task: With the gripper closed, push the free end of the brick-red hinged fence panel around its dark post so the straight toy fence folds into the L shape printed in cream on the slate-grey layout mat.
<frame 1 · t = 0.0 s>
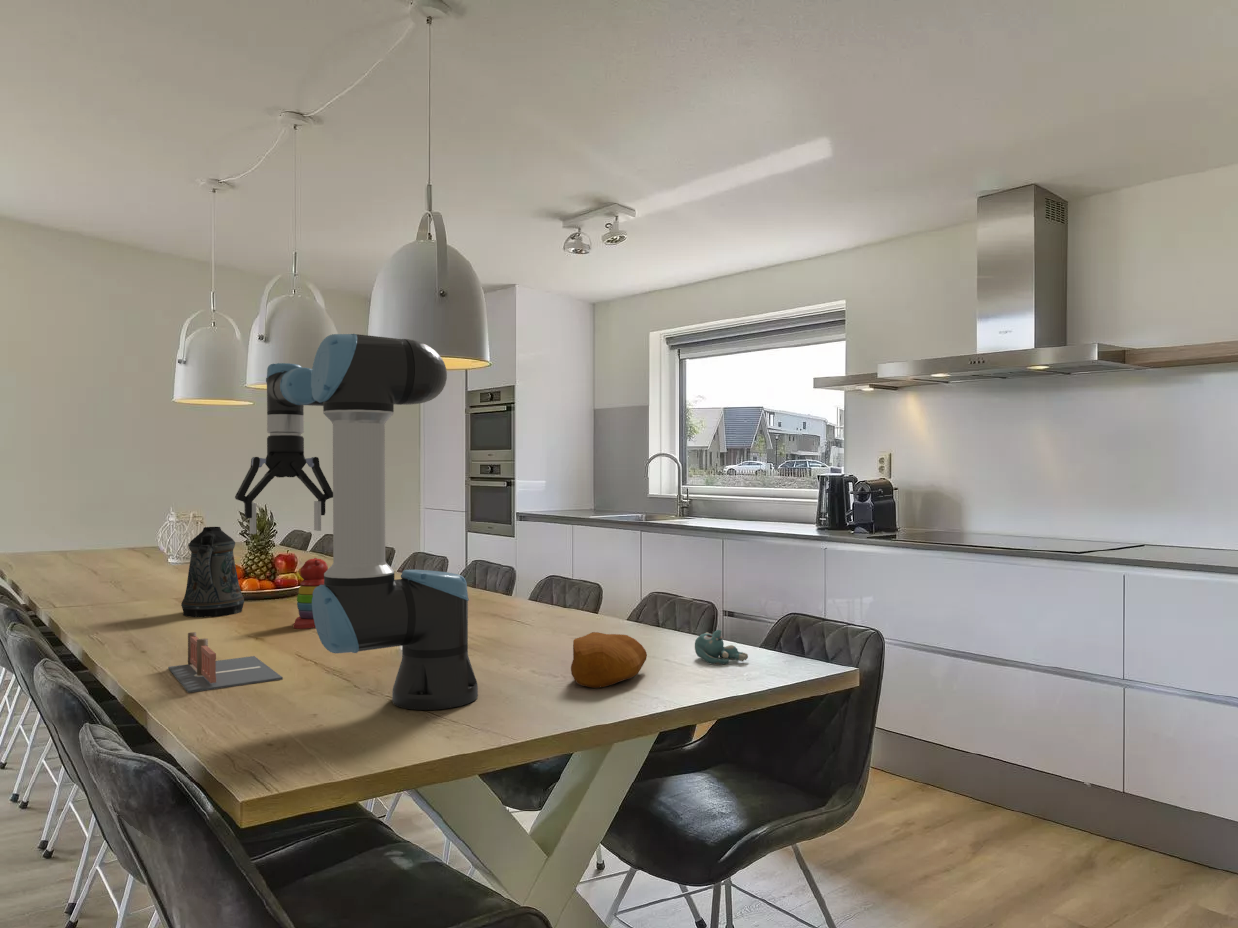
hand: (286, 532, 187), 28 cm above the table, fingers open, 13 cm apart
hinged panel: (208, 663, 168), point 4 cm above the table, hinge at 0.0°
fixed panel: (202, 676, 173), resting on layout mat
stuffed animal: (720, 662, 185), on the table
beer stein: (214, 614, 249), on the table
stacking bear: (314, 625, 230), on the table
bread: (611, 680, 169), on the table
layout mat: (223, 673, 175), on the table
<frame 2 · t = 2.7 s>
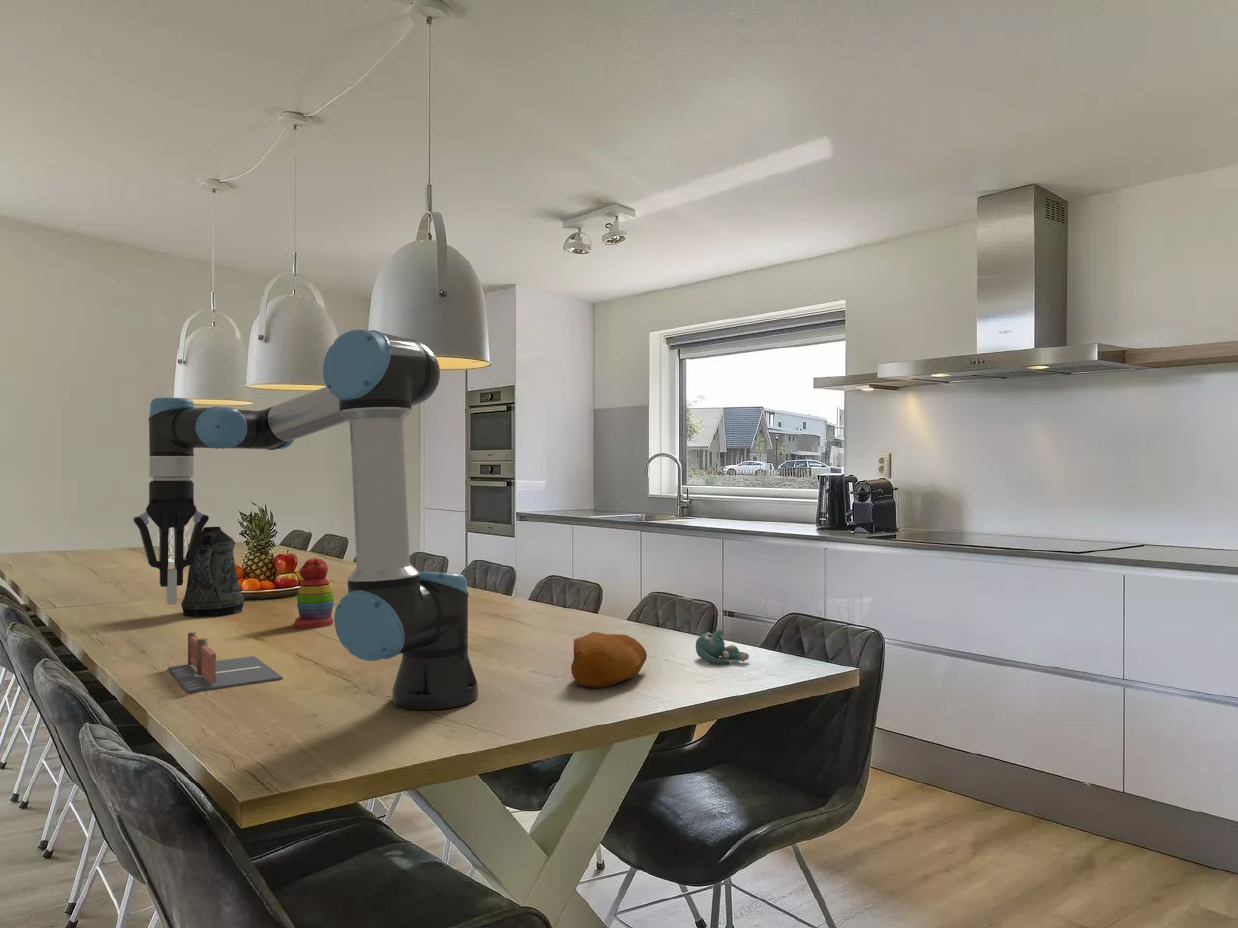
hand: (171, 603, 163), 16 cm above the table, fingers closed
nothing on the table moved.
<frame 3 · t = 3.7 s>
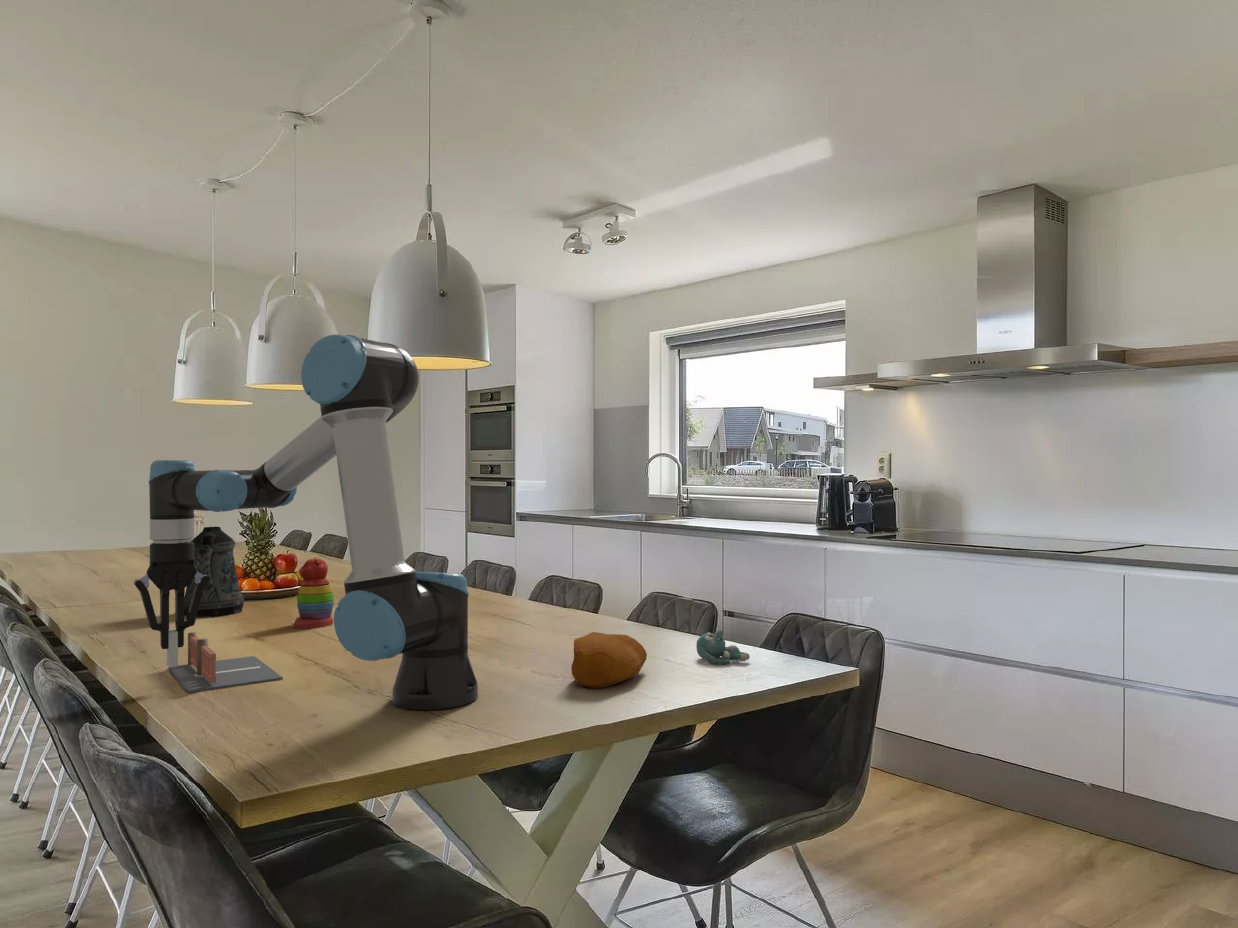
hand: (172, 665, 163), 5 cm above the table, fingers closed
nothing on the table moved.
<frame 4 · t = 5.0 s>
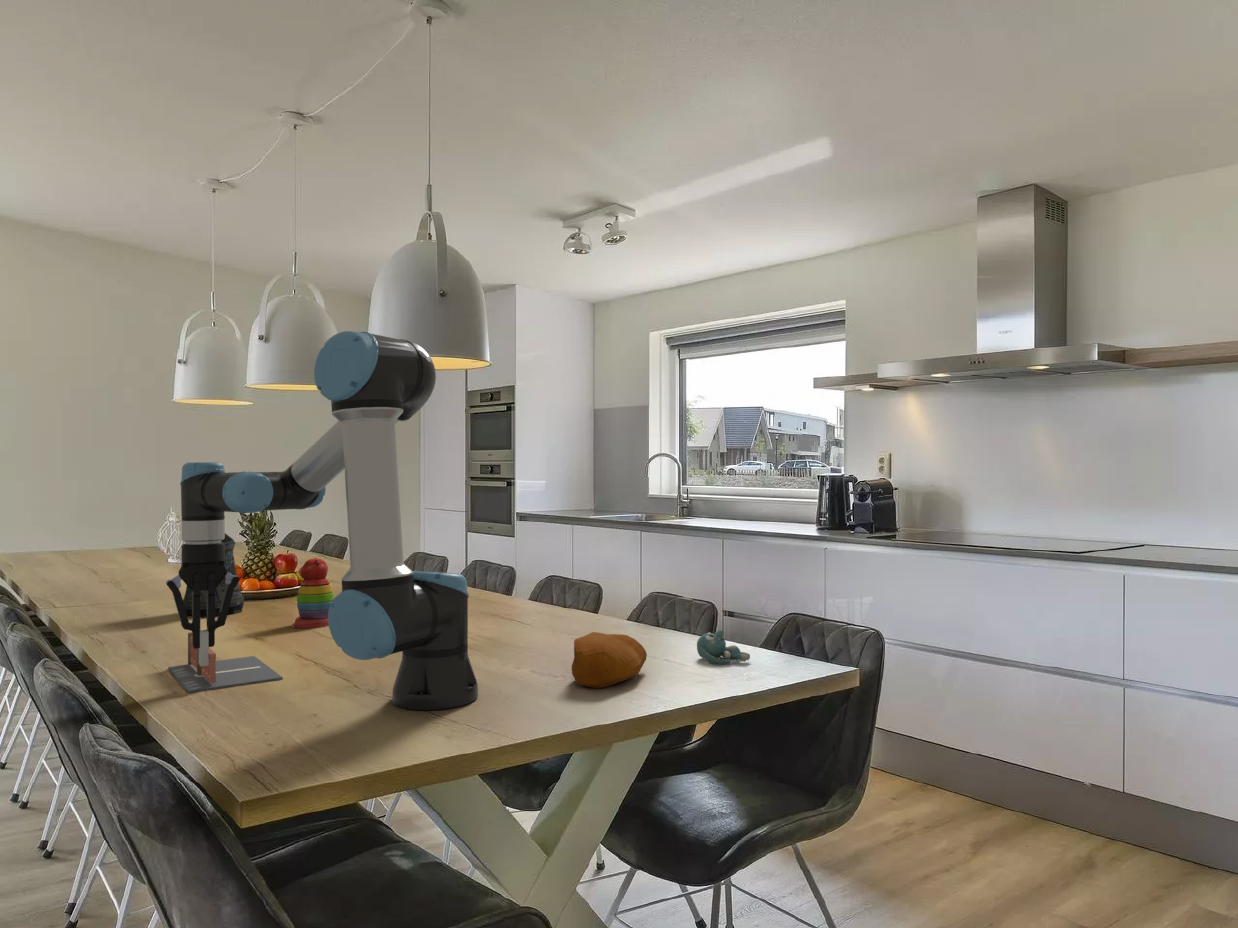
hand: (203, 664, 165), 4 cm above the table, fingers closed
hinged panel: (208, 663, 168), point 4 cm above the table, hinge at 0.0°, touching gripper
everything else where it was.
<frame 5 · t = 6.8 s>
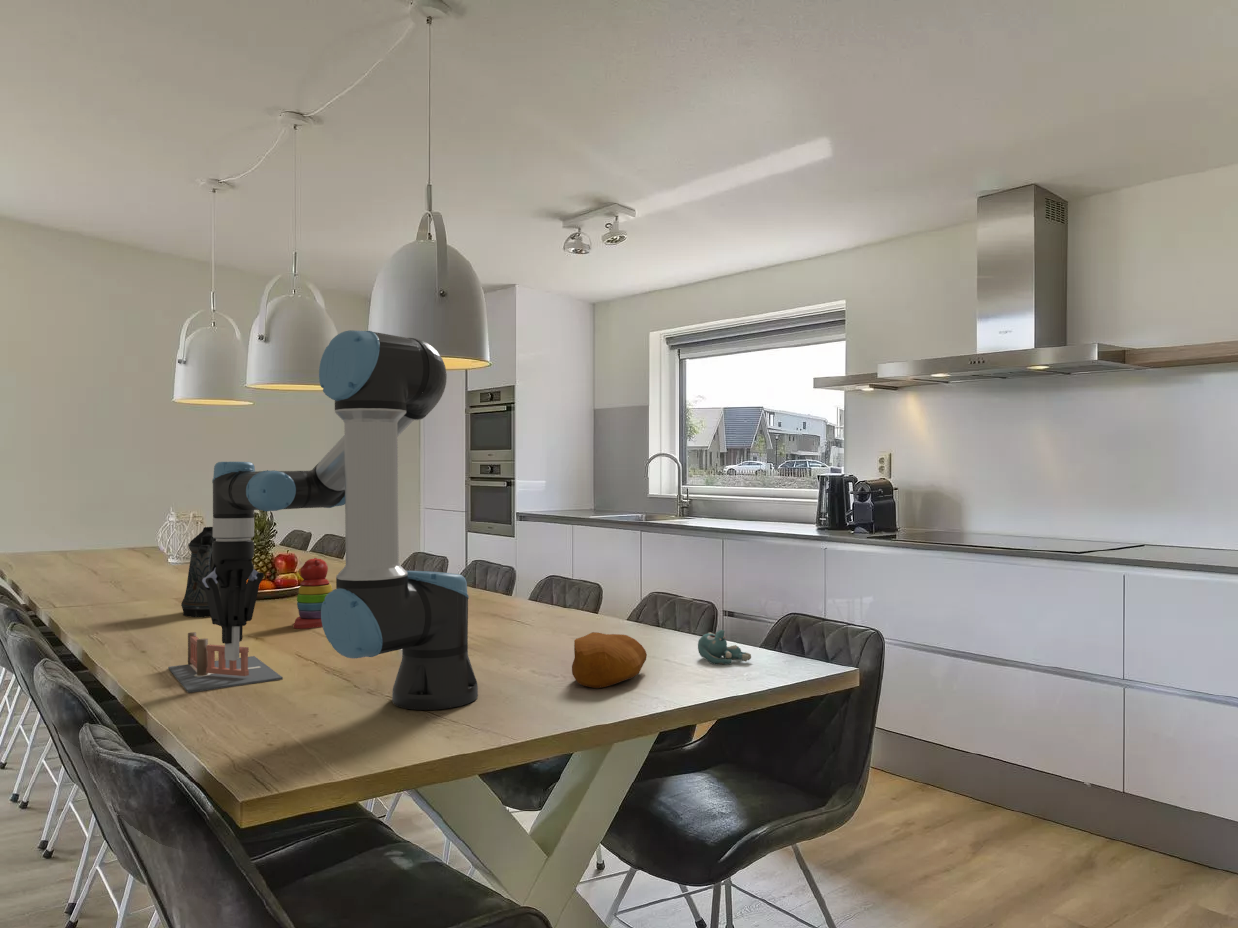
hand: (231, 659, 169), 4 cm above the table, fingers closed
hinged panel: (227, 660, 171), point 4 cm above the table, hinge at 36.2°, touching gripper
everything else where it was.
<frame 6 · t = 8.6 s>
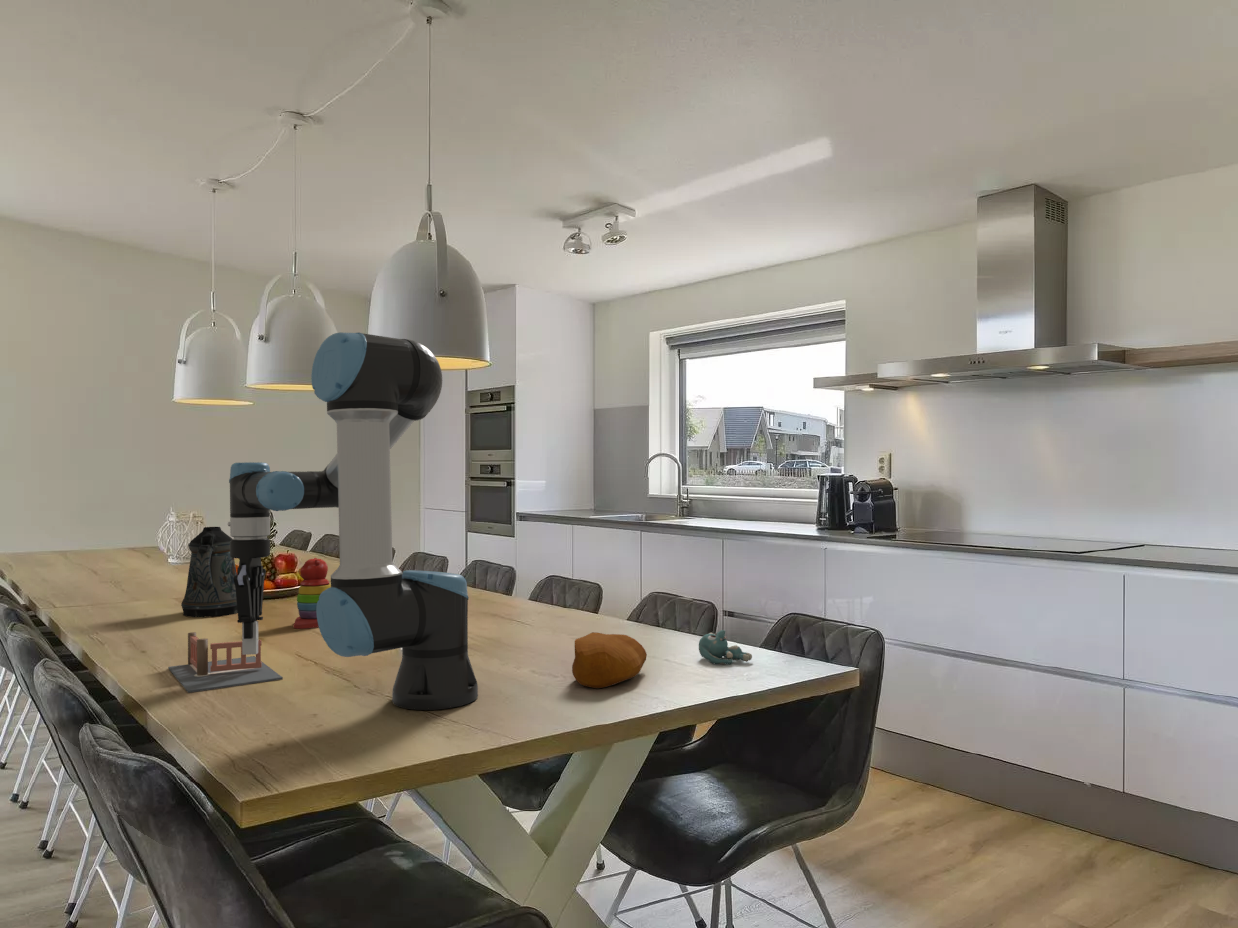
hand: (250, 653, 174), 4 cm above the table, fingers closed
hinged panel: (236, 655, 175), point 4 cm above the table, hinge at 74.9°
everything else where it was.
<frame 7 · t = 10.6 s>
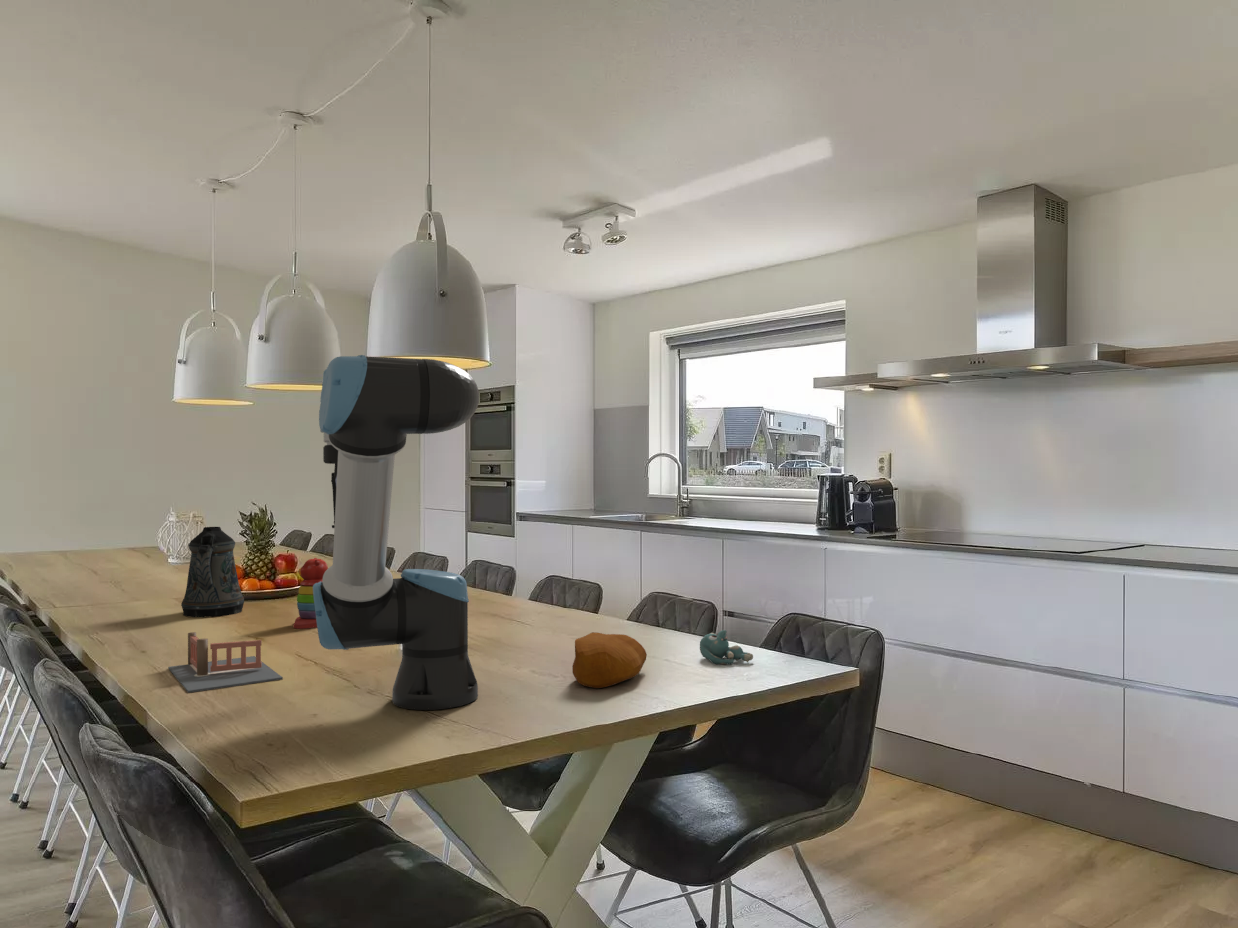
hand: (343, 559, 174), 23 cm above the table, fingers closed
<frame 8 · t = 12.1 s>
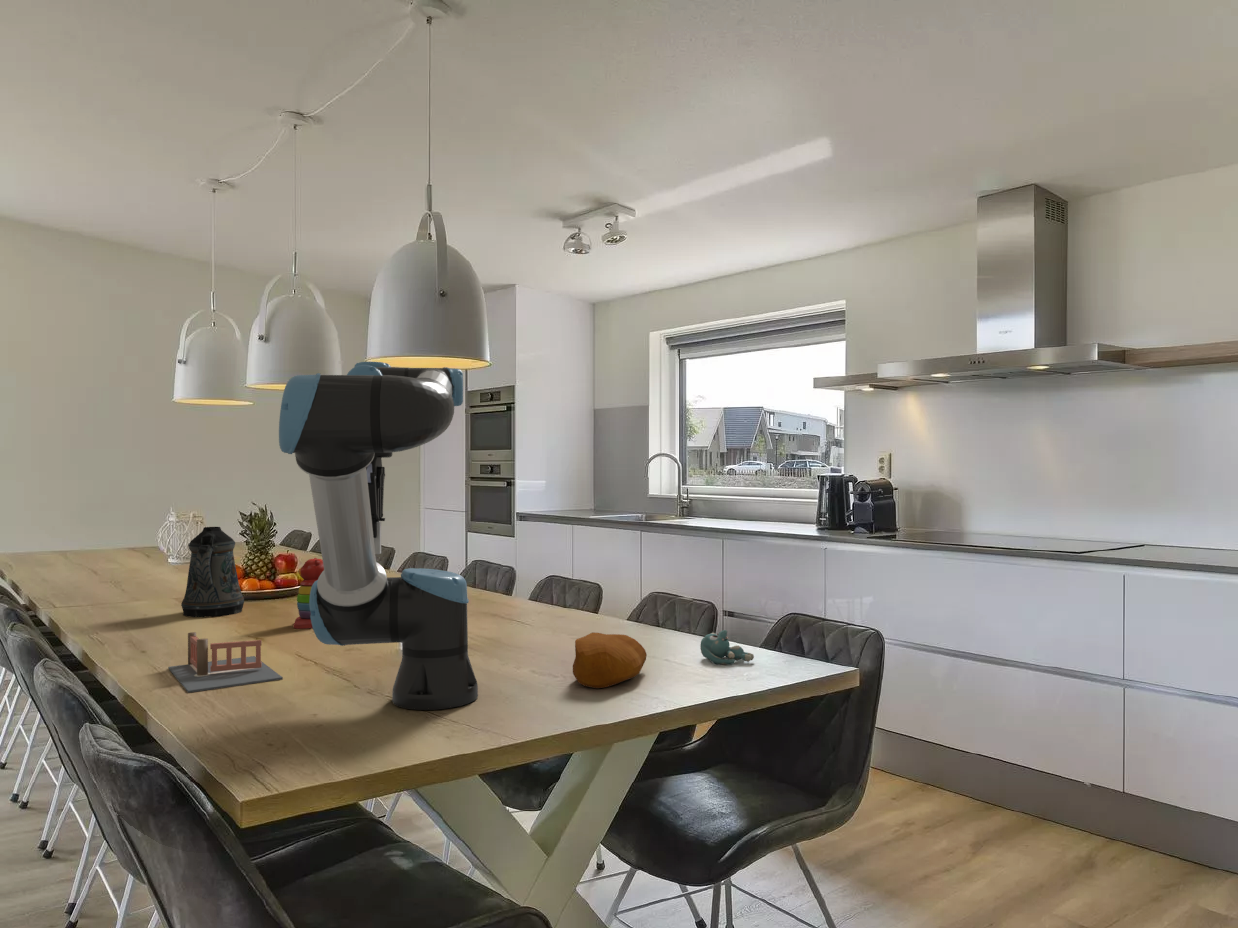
hand: (373, 553, 175), 24 cm above the table, fingers closed
at the end: hinged panel at +75° (first picture: +0°) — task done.
